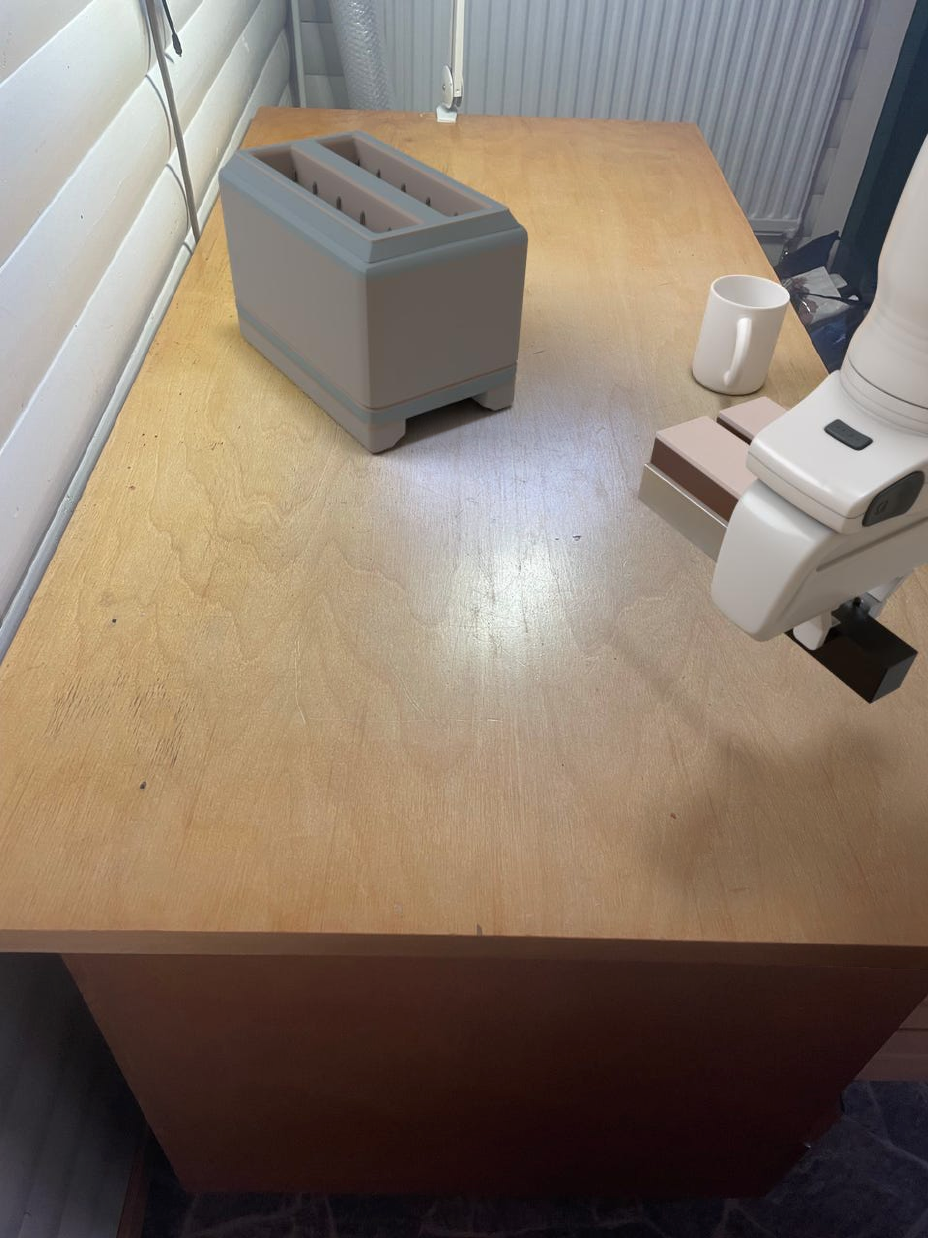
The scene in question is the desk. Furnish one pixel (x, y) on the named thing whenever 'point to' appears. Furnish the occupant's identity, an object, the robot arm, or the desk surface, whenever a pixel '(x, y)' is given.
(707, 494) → the cake
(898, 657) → the knife
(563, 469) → the desk surface
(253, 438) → the desk surface
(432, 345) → the toaster
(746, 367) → the mug
